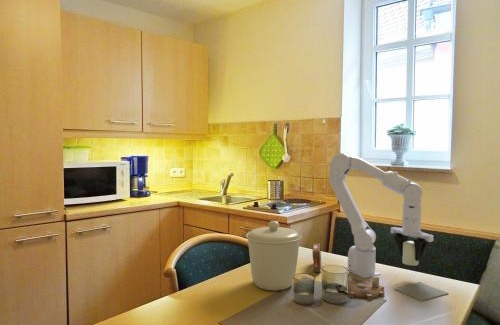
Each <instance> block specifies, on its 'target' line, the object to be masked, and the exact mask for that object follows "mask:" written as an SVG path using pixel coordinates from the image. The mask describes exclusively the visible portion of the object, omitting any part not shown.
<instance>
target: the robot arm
mask: <svg viewBox="0 0 500 325" xmlns="http://www.w3.org/2000/svg"><path fill="white" fill-rule="evenodd" d="M350 170H353V171H356V170H357V171H358V170H360V171H361V172H364V173H365V174H367V175H370V176H372V177H373V178H376V179H378V180H380V182H381V184H382V186H383V187H385V188H387V189H388V190H391V191H393V192H394V193H396V194H398V195H402V197H403V204H402V224H401V225H402V227H396V226H393V227H392V226H391V227H390V234H395V235H393V239H394V240H395V242H396V245H397V248H398V251H399V256H400V257H402V258H403V242H404V241H409V240H408V239H409V238H414V239H413V242H414V245H415V260H416V261H422V257H423V255H424V251H425V249H426V248H427V245H428V244H429V243H432V242H434V235H433V234H429V233H426V232H423V231H422V230H421V226H422V195H423V190H422V186H421V185H419V184H418V183H417V182H416V181H412V179H410V178H406V177H404V176H402V175H400V174H399V172H398V171H396V170H395V171H392V170H389V171H384V170H382V169H381V168H379V167H377V166H375V165H374V164H372V163H370V162H368V161H367V160H365V159H363V158H360V157H359V156H356V155H352V154H350V153H348V152H343V153H341V152H340V153H336V154H335V155H334V156H333V157H332V159H331V161H330V163H329V176H328V177H329V179H328V183H329V184H330V186H331V188H332V191H333V193H334V194H335V196H336V198H337V200H338V202H339V205H340V207H341V208H342V211H343V212H344V215H345V216H346V218H347V221H348V222H349V225H350V228H351V233H352V235H353V242H354V245H352V246H351V247H349V250H348V252H347V268H348V269H349V271H348V272H350V273H352V274H355V275H357V276H359V277H360V278H361V277H362V278H365V279H366V278H370V277H371V278H372V276H379V275H381V272H379V271H376V255H377V254H376V251H377V250H376V249H377V248H376V247H375V245H374V243H375V242H376V240H377V234H376V231H374V230H373V229H372V228H371V227H370V226H369V224H368V223H367V222H366V220H365V219H364V217H363V215H362V214H361V211H360V209H359V208H358V205H357V203H356V202H355V200H354V197H353V195H352V194H351V192H350V190H349V188H348V185H347V184H346V182H345V179H346V177H347V175H348V172H350Z"/></svg>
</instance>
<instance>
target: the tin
mask: <svg viewBox="0 0 500 325" xmlns="http://www.w3.org/2000/svg"><path fill="white" fill-rule="evenodd" d="M321 250H322V249H321V243H313V244H312V261H313V267H312V269H313V272H315V273H321V271H322V254H321V253H322V252H321Z"/></svg>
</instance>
